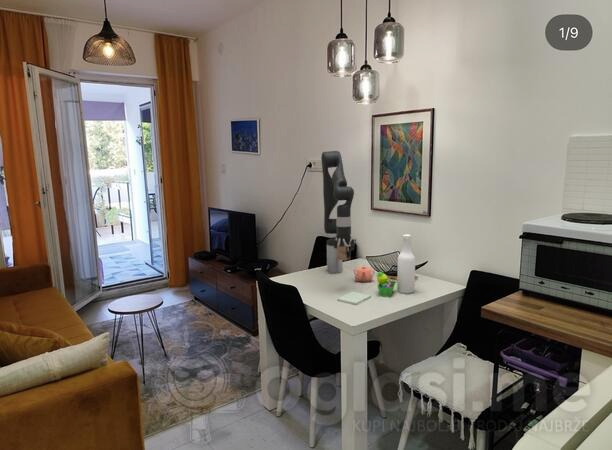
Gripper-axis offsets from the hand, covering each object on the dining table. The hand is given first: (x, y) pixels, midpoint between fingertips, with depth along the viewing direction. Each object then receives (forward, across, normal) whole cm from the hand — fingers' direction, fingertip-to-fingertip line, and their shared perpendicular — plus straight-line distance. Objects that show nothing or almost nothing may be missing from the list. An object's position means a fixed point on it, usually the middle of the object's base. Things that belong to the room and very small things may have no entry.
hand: (344, 257), depth 215 cm
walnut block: (+1, 0, 0) cm, 1 cm away
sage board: (+18, -12, +8) cm, 23 cm away
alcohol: (+18, -26, -18) cm, 37 cm away
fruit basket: (+18, -20, -9) cm, 28 cm away
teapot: (+18, +2, -22) cm, 28 cm away
